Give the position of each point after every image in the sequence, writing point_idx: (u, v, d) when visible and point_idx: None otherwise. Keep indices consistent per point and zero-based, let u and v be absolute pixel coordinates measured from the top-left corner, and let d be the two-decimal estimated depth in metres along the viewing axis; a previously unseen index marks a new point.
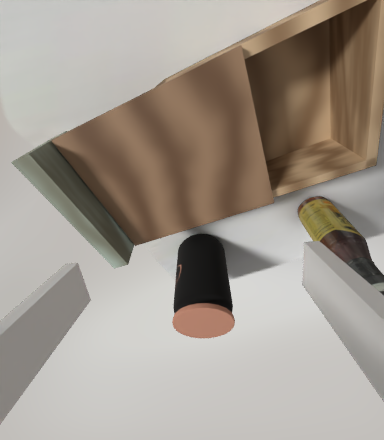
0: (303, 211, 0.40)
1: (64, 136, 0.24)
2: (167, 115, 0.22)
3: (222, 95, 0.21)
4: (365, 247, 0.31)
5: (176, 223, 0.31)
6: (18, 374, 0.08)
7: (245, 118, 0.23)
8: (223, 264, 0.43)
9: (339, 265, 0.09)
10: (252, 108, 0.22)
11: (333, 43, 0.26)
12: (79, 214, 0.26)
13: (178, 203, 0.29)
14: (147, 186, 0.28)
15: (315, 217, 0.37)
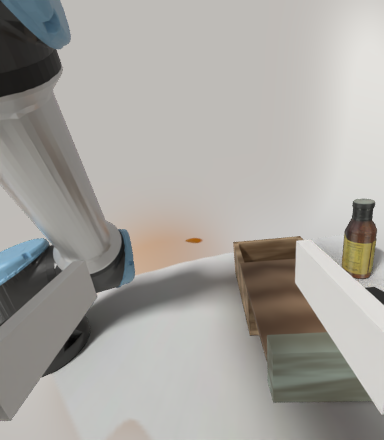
0: (355, 270, 0.53)
1: (265, 343, 0.28)
2: (262, 286, 0.39)
3: (257, 268, 0.44)
4: (349, 223, 0.53)
5: None
6: (30, 367, 0.09)
7: (269, 263, 0.46)
8: None
9: (328, 263, 0.09)
10: (265, 261, 0.47)
11: None
12: None
13: None
14: None
15: (350, 257, 0.53)
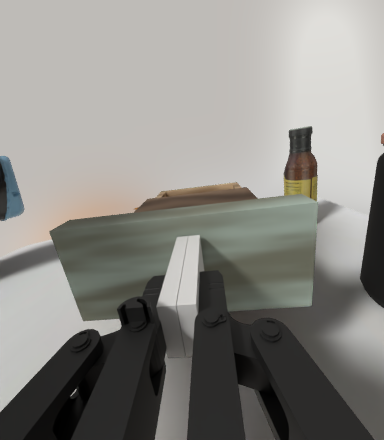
0: None
1: None
2: (150, 211, 0.31)
3: (161, 200, 0.37)
4: None
5: None
6: None
7: (179, 196, 0.38)
8: None
9: (193, 252, 0.12)
10: None
11: None
12: (165, 210, 0.16)
13: None
14: None
15: None
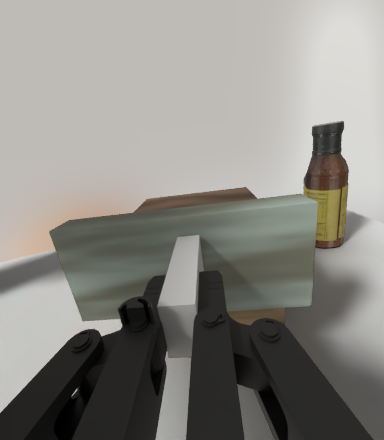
0: (318, 234, 0.36)
1: None
2: (150, 211, 0.31)
3: (160, 200, 0.37)
4: None
5: None
6: None
7: (179, 196, 0.38)
8: None
9: (192, 252, 0.12)
10: None
11: None
12: (165, 210, 0.16)
13: None
14: None
15: None
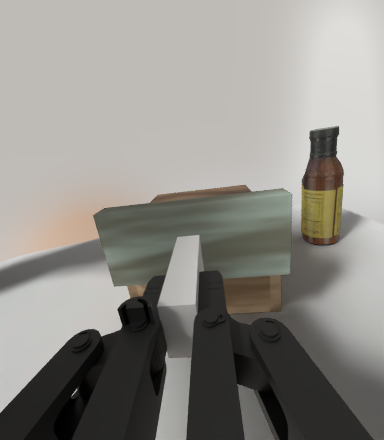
0: (315, 232, 0.38)
1: None
2: None
3: (170, 196, 0.42)
4: (307, 166, 0.38)
5: None
6: None
7: (185, 192, 0.43)
8: None
9: (192, 252, 0.12)
10: (183, 192, 0.44)
11: None
12: (179, 200, 0.21)
13: None
14: None
15: (309, 214, 0.38)
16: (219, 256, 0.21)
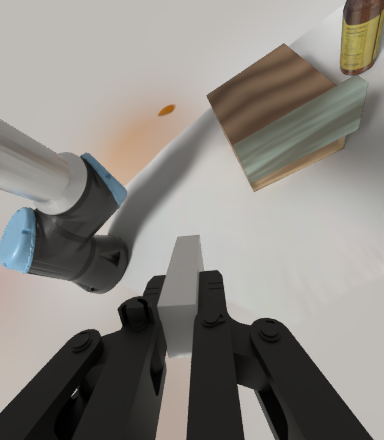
0: (356, 64, 0.43)
1: None
2: (228, 109, 0.43)
3: (222, 93, 0.46)
4: None
5: (310, 79, 0.36)
6: None
7: (232, 81, 0.46)
8: None
9: (192, 252, 0.12)
10: (228, 81, 0.47)
11: None
12: (283, 118, 0.31)
13: (288, 85, 0.38)
14: (273, 106, 0.38)
15: (350, 49, 0.42)
16: (315, 140, 0.33)
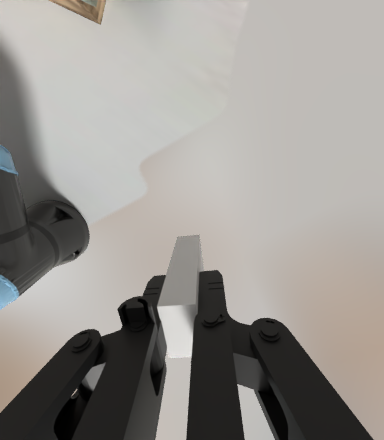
0: None
1: None
2: None
3: None
4: None
5: None
6: None
7: None
8: None
9: (192, 252, 0.12)
10: None
11: None
12: None
13: None
14: None
15: None
16: None
